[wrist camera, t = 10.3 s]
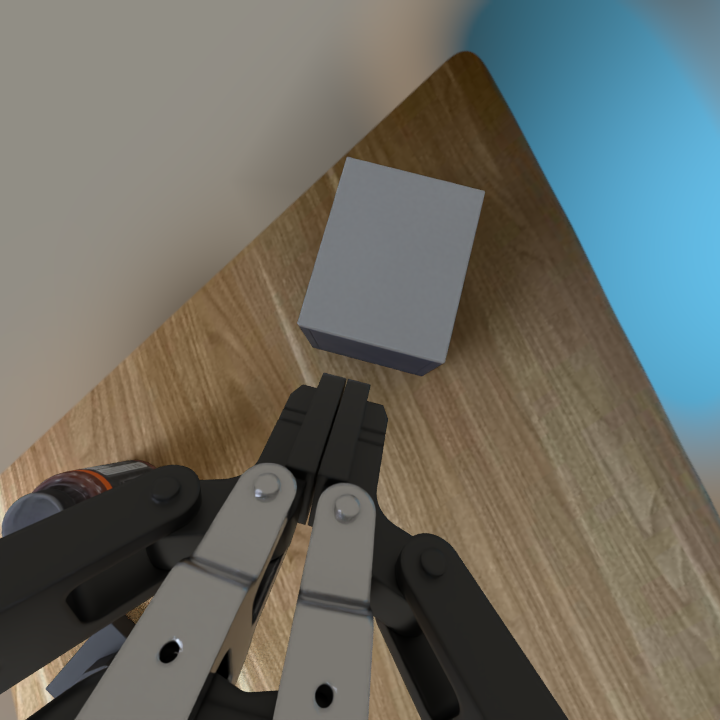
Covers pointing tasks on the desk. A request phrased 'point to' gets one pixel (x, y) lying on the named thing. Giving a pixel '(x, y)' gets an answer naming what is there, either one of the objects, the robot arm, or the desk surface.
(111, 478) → the supplement bottle
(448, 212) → the lid
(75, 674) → the control block
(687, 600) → the desk surface
